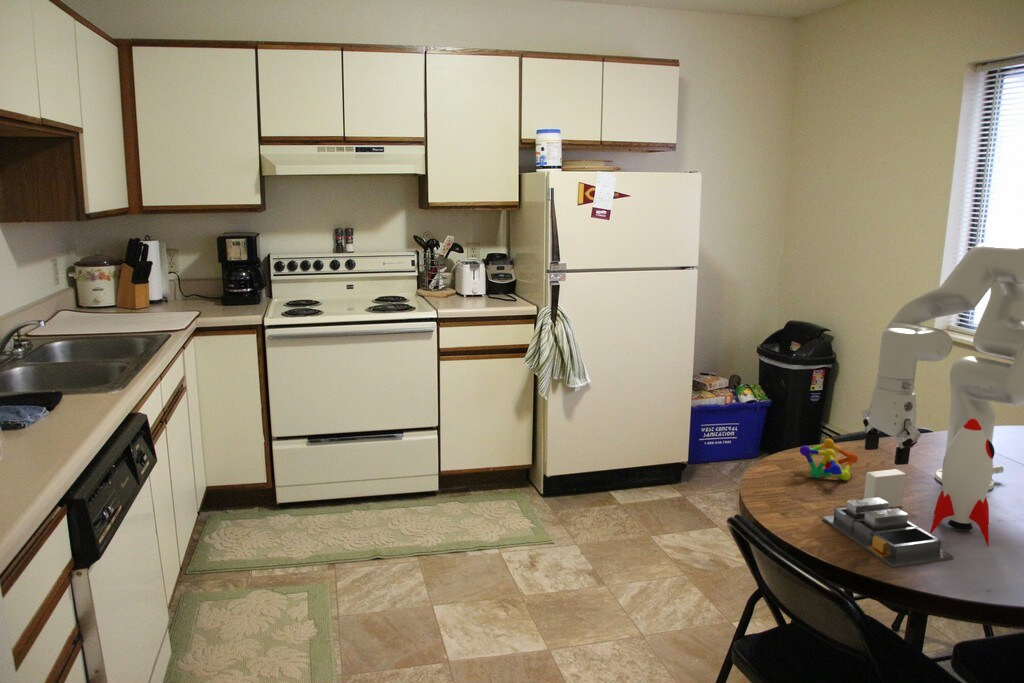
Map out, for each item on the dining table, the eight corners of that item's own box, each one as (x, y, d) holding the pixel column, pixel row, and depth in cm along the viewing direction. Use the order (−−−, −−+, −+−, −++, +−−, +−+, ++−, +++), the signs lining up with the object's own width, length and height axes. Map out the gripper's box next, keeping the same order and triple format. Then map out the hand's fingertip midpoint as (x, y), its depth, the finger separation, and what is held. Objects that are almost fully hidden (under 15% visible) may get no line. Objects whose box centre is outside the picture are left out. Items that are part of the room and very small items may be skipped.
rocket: (988, 546, 155) (1004, 430, 149) (929, 534, 160) (943, 421, 155) (989, 525, 164) (1004, 415, 159) (933, 514, 169) (946, 408, 164)
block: (893, 501, 177) (896, 469, 175) (902, 506, 174) (905, 473, 172) (863, 504, 175) (866, 472, 173) (872, 510, 172) (875, 477, 170)
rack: (876, 512, 171) (879, 489, 169) (953, 559, 150) (956, 532, 148) (822, 519, 167) (824, 495, 166) (892, 567, 146) (895, 541, 145)
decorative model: (871, 462, 190) (839, 459, 181) (855, 491, 192) (822, 490, 184) (829, 435, 200) (797, 432, 191) (814, 463, 202) (781, 461, 193)
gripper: (938, 393, 161) (928, 469, 164) (882, 373, 177) (873, 443, 181) (908, 394, 159) (898, 471, 162) (854, 375, 175) (846, 445, 179)
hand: (885, 456), depth 171 cm, fingers open, 9 cm apart
